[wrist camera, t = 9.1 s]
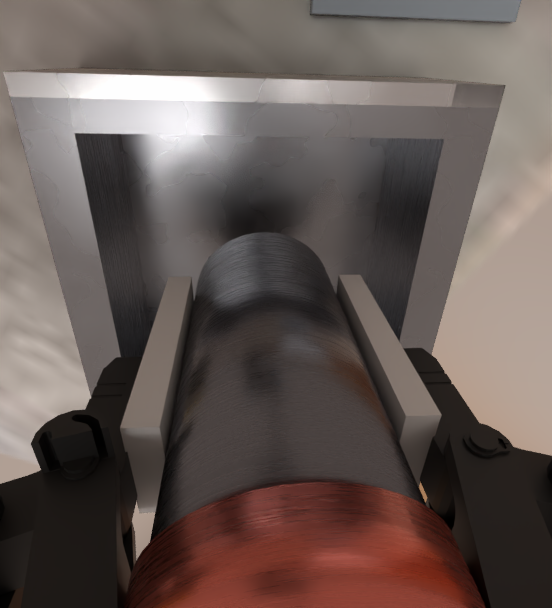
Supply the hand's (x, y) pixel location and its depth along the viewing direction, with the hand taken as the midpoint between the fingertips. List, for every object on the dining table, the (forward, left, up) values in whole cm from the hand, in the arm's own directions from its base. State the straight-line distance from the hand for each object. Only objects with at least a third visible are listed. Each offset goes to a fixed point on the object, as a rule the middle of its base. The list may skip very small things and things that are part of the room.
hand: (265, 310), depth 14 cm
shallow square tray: (0, 0, -7) cm, 7 cm away
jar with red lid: (0, 0, -1) cm, 1 cm away
